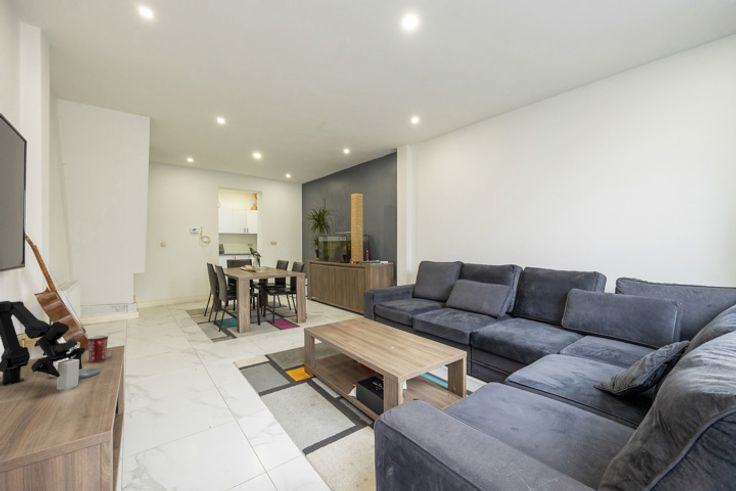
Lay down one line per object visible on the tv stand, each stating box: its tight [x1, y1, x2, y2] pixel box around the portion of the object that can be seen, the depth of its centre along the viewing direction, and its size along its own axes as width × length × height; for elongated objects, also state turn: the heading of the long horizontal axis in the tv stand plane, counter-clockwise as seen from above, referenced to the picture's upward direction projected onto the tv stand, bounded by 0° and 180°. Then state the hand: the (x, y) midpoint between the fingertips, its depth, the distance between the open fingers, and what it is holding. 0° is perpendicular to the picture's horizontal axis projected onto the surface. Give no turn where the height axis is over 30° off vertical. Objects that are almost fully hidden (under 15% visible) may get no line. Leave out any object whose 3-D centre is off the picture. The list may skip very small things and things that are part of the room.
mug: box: [87, 334, 109, 363], centre depth 174 cm, size 13×9×14 cm
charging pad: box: [78, 367, 100, 380], centre depth 154 cm, size 11×11×1 cm
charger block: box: [56, 358, 80, 391], centre depth 141 cm, size 5×5×12 cm
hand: (70, 372), depth 140 cm, fingers open, 9 cm apart
